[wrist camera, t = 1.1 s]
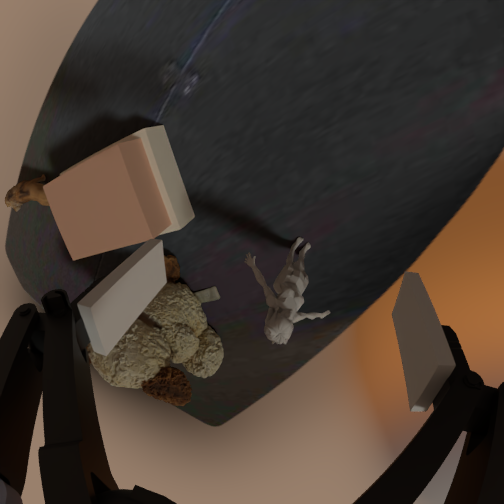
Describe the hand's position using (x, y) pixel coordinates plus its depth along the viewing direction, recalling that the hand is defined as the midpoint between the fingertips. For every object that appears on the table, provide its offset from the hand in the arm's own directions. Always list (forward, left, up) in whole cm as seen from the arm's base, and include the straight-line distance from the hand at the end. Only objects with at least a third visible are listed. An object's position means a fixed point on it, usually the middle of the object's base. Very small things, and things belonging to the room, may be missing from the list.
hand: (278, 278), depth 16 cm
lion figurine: (-11, -43, -26) cm, 51 cm away
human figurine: (+10, -4, -26) cm, 27 cm away
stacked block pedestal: (-5, -26, -25) cm, 36 cm away
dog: (+15, -27, -26) cm, 40 cm away
